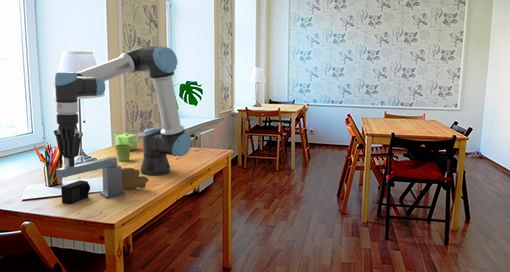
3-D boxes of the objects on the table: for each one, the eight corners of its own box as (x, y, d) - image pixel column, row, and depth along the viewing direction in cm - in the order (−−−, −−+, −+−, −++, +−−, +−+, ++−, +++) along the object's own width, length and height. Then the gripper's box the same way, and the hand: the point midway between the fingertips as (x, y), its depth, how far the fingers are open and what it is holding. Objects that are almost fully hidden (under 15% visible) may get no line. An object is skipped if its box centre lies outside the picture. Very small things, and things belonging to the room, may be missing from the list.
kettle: (117, 153, 265) (117, 135, 264) (111, 149, 277) (111, 132, 275) (141, 151, 274) (141, 133, 272) (134, 147, 285) (134, 130, 283)
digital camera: (72, 205, 167) (72, 187, 166) (61, 203, 169) (61, 186, 168) (91, 197, 177) (90, 181, 176) (80, 196, 179) (79, 180, 178)
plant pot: (133, 161, 244) (132, 146, 242) (115, 162, 240) (115, 147, 239) (131, 158, 252) (131, 143, 251) (114, 159, 249) (114, 144, 247)
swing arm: (112, 163, 183) (112, 156, 182) (119, 164, 180) (119, 157, 180) (55, 176, 159) (54, 168, 159) (62, 178, 157) (62, 170, 157)
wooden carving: (148, 187, 194) (148, 166, 192) (147, 190, 189) (147, 168, 188) (111, 188, 191) (110, 166, 190) (109, 191, 187) (108, 168, 185)
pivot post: (118, 190, 187) (117, 163, 185) (125, 195, 181) (124, 166, 179) (100, 193, 182) (99, 165, 180) (106, 198, 176) (105, 169, 174)
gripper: (46, 112, 160) (49, 173, 164) (71, 115, 155) (74, 178, 159) (63, 111, 167) (65, 169, 171) (87, 113, 161) (89, 174, 165)
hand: (69, 173), depth 165 cm, fingers closed
